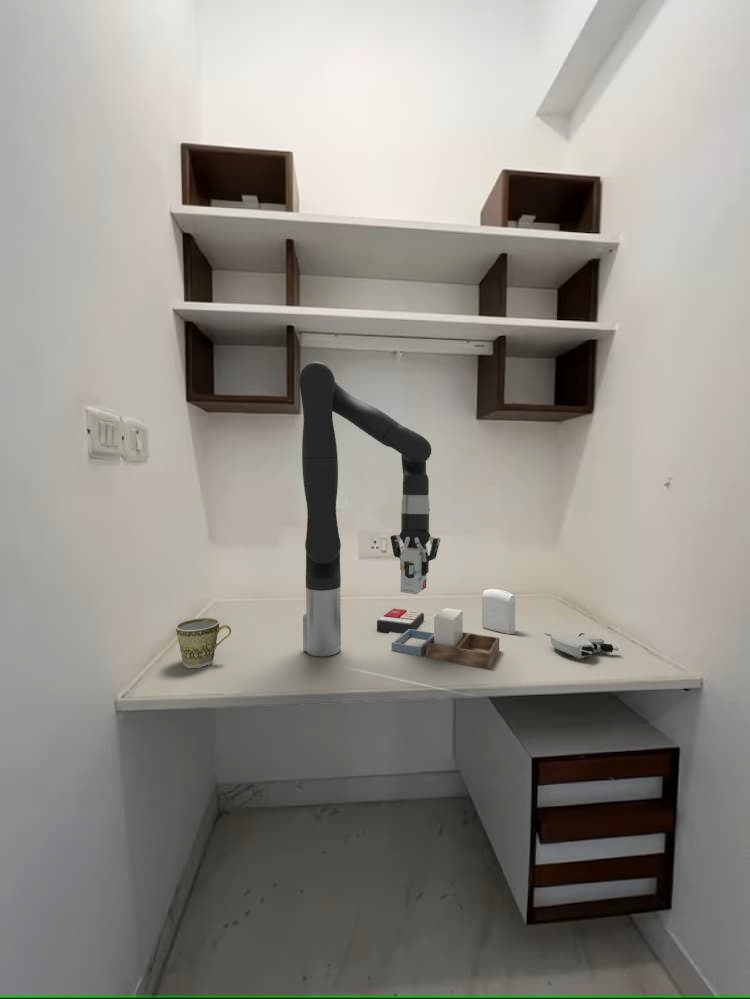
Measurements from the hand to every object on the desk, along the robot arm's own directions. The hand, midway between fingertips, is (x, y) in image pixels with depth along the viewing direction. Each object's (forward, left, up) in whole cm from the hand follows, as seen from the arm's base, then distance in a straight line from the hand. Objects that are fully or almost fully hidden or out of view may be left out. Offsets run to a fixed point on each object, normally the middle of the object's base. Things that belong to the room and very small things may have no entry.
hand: (414, 573), depth 115 cm
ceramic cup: (-43, -33, -20) cm, 58 cm away
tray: (0, 0, -20) cm, 20 cm away
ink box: (0, 0, -5) cm, 5 cm away
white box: (+10, 0, -20) cm, 22 cm away
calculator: (-10, +14, -21) cm, 27 cm away
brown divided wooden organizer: (+14, 0, -20) cm, 24 cm away
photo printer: (+18, +24, -20) cm, 36 cm away
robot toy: (+41, +16, -21) cm, 48 cm away
